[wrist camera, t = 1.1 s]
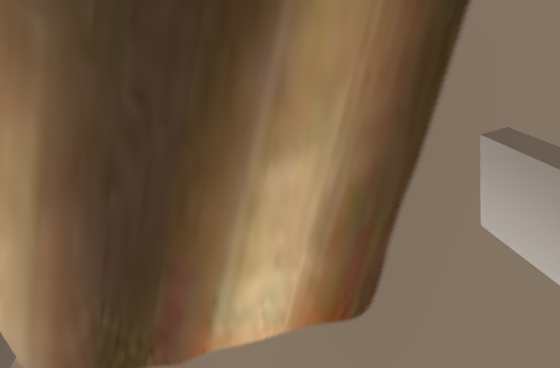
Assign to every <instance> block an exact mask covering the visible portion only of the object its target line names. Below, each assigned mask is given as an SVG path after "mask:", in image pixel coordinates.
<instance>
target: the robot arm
mask: <svg viewBox="0 0 560 368" xmlns="http://www.w3.org/2000/svg"><path fill="white" fill-rule="evenodd" d="M480 144H481V145H480V146H481V147H480V148H481V149H480V150H481V151H480V155H481V156H480V157H481V225H482V226H483V227H484V228H486V229H487V230H488V231H490V232H491V233H492V234H494V235H495V236H496V237H497V238H499V239H500V240H501V241H502V242H504V243H505V244H506V245H508V246H509V247H510V248H512V249H513V250H514V251H516V252H517V253H518V254H519V255H521V256H522V257H523V258H525V259H526V260H527V261H529V262H530V263H531V264H533V265H534V266H535V267H536V268H538V269H539V270H540V271H542V272H543V273H544V274H546V275H547V276H548V277H550V278H551V279H552V280H553V281H555V282H556V283H557V284H559V285H560V147H558V146H556V145H553V144H550V143H548V142H545V141H542V140H540V139H537V138H534V137H532V136H529V135H526V134H524V133H521V132H518V131H516V130H513V129H510V128H508V127H507V128H503V129H499V130H496V131H492V132H488V133H484V134H481V135H480ZM15 358H16V356H15V354H14V353H13V351H12V350H11V348H10V347H9V345H8V343H7V342H6V340H5V339H4V337H3V336H2V334H1V333H0V368H10V367H11V366H12V364H13V362H14V360H15Z"/></svg>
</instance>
